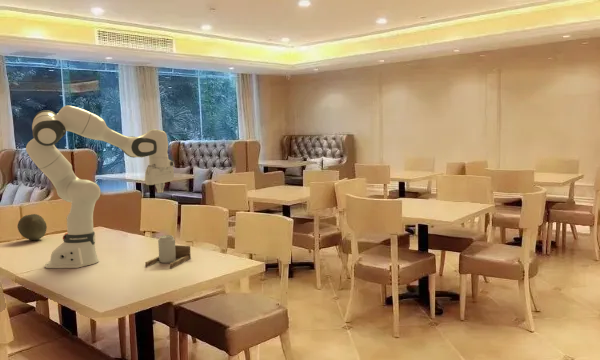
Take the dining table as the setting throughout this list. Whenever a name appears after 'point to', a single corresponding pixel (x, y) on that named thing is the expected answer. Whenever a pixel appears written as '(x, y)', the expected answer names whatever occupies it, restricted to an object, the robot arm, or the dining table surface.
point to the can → (167, 249)
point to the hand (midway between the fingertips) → (160, 192)
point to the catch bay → (181, 253)
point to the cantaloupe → (32, 227)
